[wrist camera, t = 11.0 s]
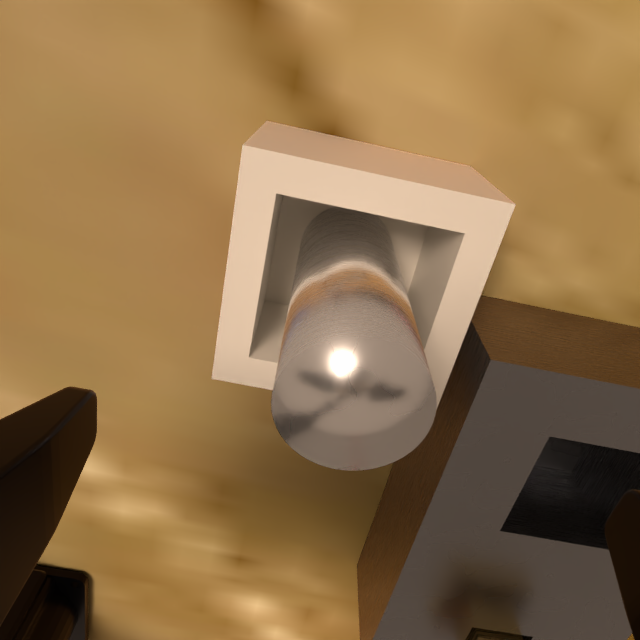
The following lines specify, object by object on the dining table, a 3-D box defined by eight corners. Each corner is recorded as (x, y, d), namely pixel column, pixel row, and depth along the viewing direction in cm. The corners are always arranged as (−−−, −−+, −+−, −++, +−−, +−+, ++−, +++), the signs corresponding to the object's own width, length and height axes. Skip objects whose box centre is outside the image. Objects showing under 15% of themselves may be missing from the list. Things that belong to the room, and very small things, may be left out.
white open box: (411, 341, 21) (432, 419, 16) (238, 307, 20) (211, 378, 16) (470, 165, 18) (515, 204, 13) (266, 120, 17) (242, 144, 13)
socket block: (539, 595, 28) (578, 699, 23) (356, 565, 27) (361, 666, 23) (700, 340, 20) (801, 420, 16) (456, 290, 20) (490, 359, 15)
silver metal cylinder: (378, 300, 19) (409, 482, 11) (292, 283, 19) (259, 456, 11) (403, 216, 17) (458, 355, 9) (309, 196, 17) (286, 320, 9)
